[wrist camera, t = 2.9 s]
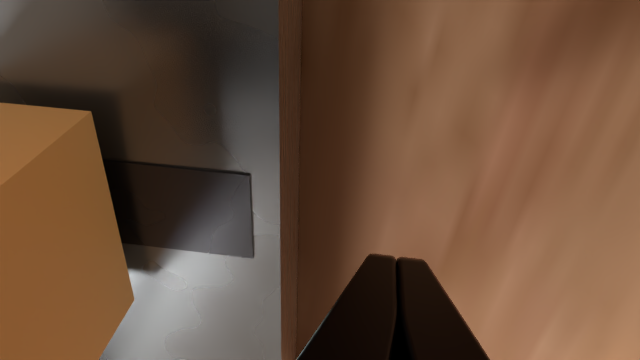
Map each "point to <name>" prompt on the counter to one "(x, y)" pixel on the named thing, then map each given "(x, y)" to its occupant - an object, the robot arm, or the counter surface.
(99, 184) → the fader tab
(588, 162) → the counter surface
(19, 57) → the console
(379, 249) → the counter surface
